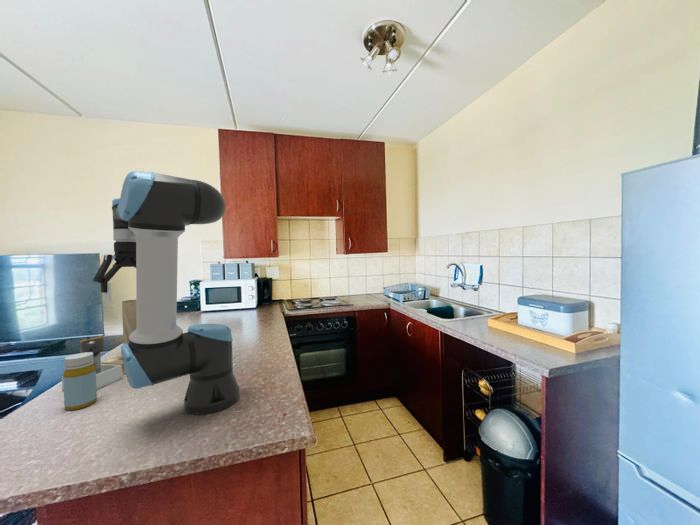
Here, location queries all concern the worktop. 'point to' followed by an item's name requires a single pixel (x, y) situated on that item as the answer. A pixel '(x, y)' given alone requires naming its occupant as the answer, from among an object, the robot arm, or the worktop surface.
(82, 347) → the grey capped post
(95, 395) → the bottle
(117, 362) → the eye block
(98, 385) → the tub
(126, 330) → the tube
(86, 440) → the worktop surface
